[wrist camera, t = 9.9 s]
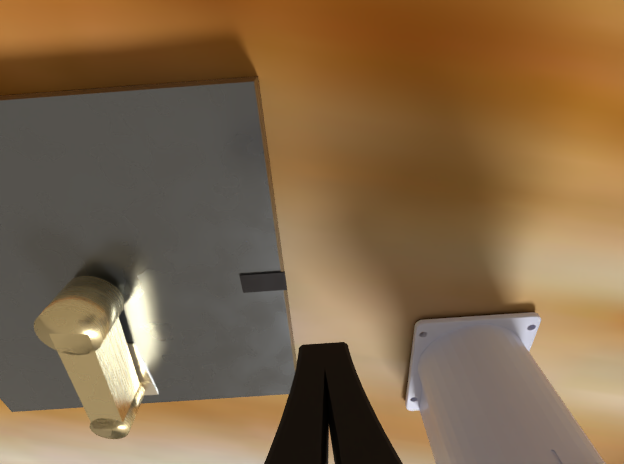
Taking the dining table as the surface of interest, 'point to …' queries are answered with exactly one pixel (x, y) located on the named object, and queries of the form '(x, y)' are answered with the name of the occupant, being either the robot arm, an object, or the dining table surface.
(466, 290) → the dining table surface
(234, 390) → the lock plate
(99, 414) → the lever
